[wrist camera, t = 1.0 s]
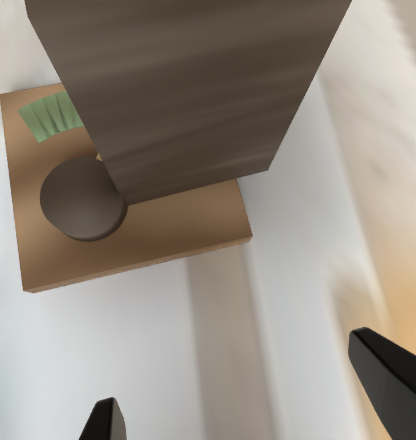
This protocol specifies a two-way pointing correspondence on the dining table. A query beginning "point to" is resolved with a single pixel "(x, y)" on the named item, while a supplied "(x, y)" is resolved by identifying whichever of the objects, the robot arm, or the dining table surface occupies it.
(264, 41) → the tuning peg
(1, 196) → the dining table surface
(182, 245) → the dial plate
